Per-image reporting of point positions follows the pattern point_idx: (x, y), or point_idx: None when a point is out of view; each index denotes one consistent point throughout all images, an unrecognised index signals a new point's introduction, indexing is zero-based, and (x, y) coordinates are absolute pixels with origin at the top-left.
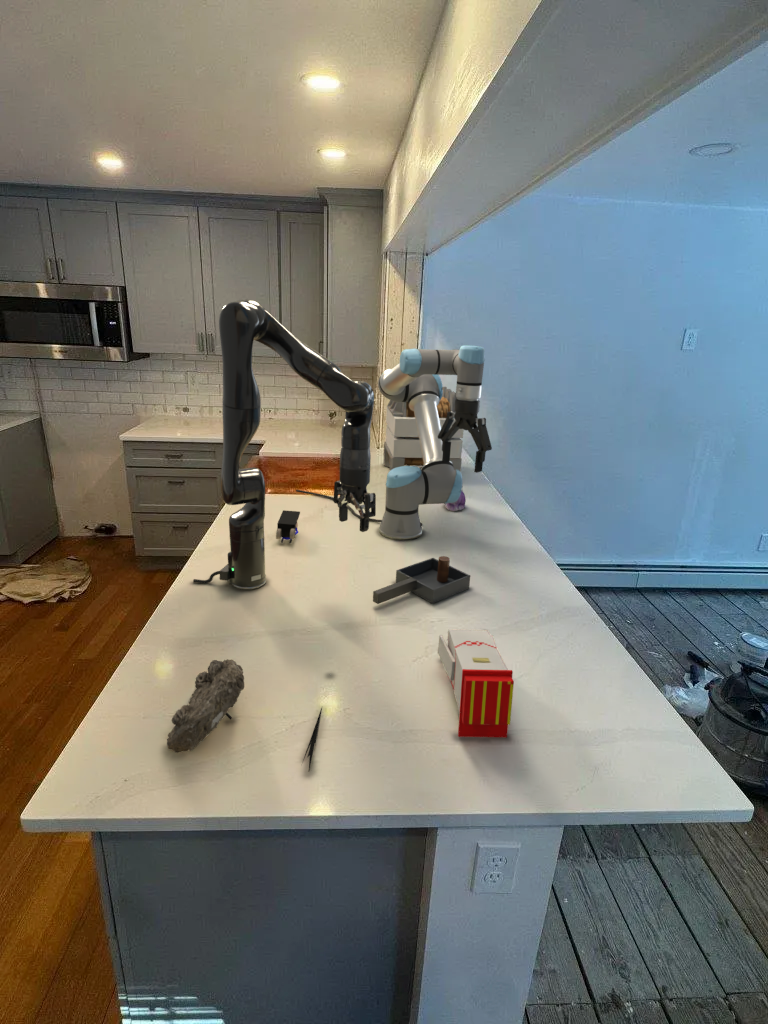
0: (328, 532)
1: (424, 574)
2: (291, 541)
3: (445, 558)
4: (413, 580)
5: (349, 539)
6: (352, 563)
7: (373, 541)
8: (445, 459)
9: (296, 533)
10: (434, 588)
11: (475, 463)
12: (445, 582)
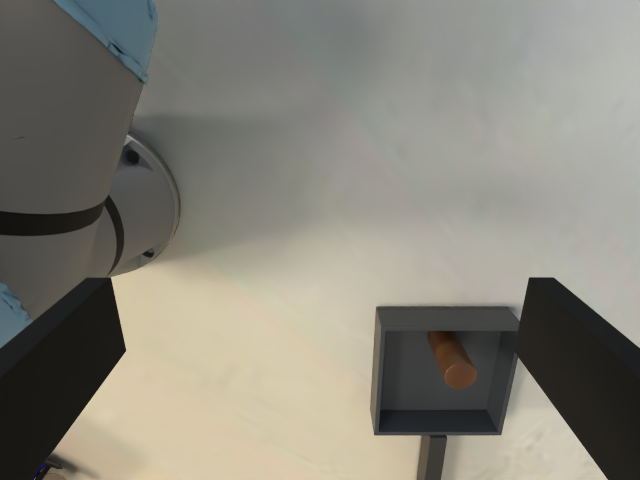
0: None
1: (390, 347)
2: (56, 466)
3: (463, 373)
4: (443, 444)
5: None
6: (231, 421)
7: (135, 310)
8: (107, 351)
9: None
10: None
11: (566, 414)
12: None
